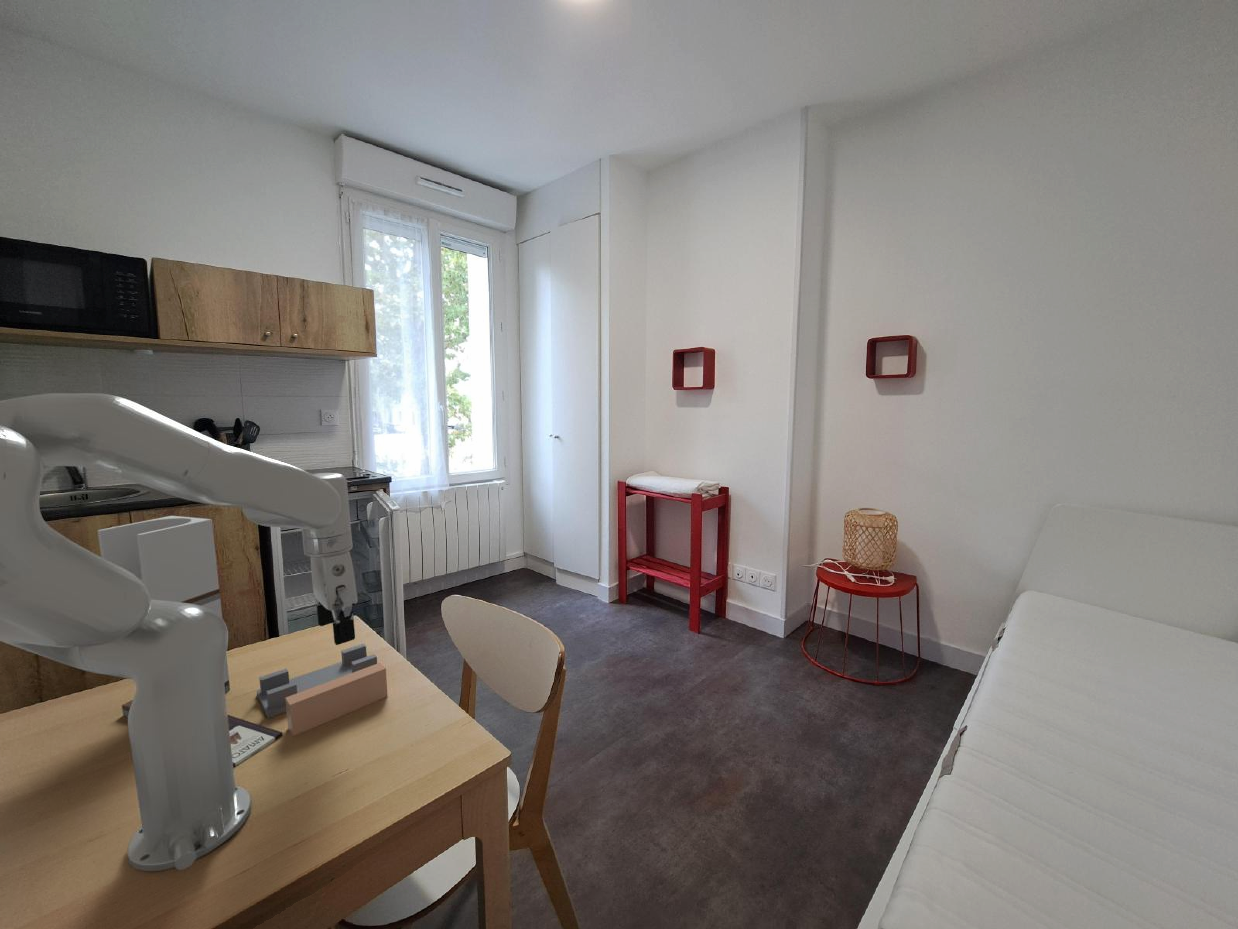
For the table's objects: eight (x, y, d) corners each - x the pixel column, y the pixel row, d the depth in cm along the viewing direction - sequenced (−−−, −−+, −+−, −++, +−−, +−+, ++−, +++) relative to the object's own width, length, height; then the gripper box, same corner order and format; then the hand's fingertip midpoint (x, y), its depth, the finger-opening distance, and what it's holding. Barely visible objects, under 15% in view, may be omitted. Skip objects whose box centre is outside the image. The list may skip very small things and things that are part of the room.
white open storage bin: (191, 681, 101) (171, 515, 97) (230, 689, 99) (211, 519, 94) (123, 715, 90) (97, 530, 86) (164, 725, 88) (140, 534, 83)
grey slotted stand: (382, 675, 104) (381, 657, 103) (267, 718, 90) (265, 698, 89) (365, 658, 111) (364, 641, 110) (257, 695, 97) (255, 676, 96)
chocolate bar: (213, 710, 91) (282, 732, 85) (214, 715, 91) (282, 737, 85) (154, 742, 83) (226, 769, 77) (155, 747, 83) (226, 774, 77)
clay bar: (387, 697, 97) (385, 668, 96) (292, 737, 85) (289, 705, 84) (381, 691, 99) (379, 662, 98) (288, 729, 87) (285, 697, 86)
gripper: (367, 548, 84) (375, 641, 87) (336, 528, 96) (343, 611, 99) (318, 559, 79) (327, 658, 82) (291, 537, 91) (300, 623, 94)
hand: (336, 632), depth 90 cm, fingers open, 9 cm apart
